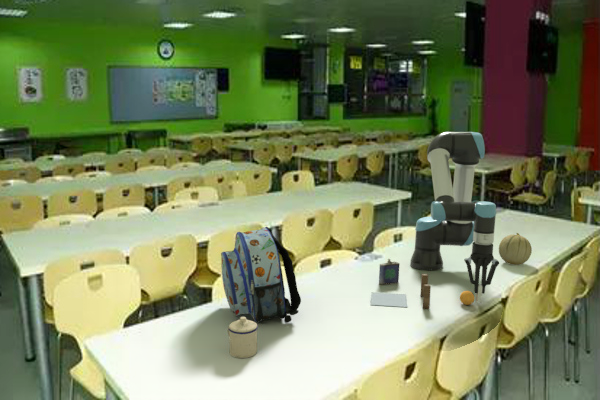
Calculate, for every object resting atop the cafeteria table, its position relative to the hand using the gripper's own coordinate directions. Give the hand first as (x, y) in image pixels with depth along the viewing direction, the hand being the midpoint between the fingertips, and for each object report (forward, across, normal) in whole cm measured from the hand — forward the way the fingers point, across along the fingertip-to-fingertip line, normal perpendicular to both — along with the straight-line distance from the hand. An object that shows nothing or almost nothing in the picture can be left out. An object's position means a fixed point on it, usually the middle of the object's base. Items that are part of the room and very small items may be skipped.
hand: (478, 301), depth 219 cm
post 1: (+2, -20, +7) cm, 21 cm away
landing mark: (+2, -34, +1) cm, 35 cm away
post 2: (+2, -21, -6) cm, 22 cm away
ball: (-1, -4, 0) cm, 5 cm away
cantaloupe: (+2, +27, +57) cm, 63 cm away
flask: (+2, -34, +21) cm, 40 cm away
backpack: (+2, -85, -18) cm, 87 cm away
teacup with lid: (+2, -83, -51) cm, 97 cm away
